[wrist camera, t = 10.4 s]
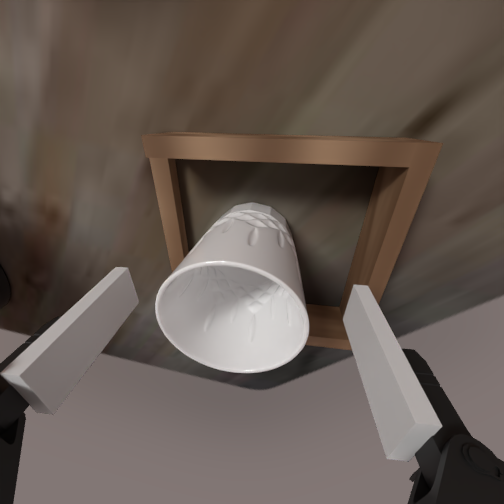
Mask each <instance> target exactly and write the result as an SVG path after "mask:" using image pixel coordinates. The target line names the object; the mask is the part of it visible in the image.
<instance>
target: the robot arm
mask: <svg viewBox="0 0 504 504" xmlns="http://www.w3.org/2000/svg"><path fill="white" fill-rule="evenodd" d="M9 299H10V286H9V283H8V280H7V278H6V276H5V274H4V272H3V270H2V269H1V267H0V308H2V307H3V306H5V305H6V304H7V303H8V301H9ZM138 303H139V300H138V297H137V294H136V291H135V288H134V285H133V282H132V279H131V275H130V272H129V269H128V268H124V267H115V268H114V269H113V270H112V271H111V272H110V273H109V274H108V275H107V276H105V277H104V278H103V279H102V280H101V281H100V282H99V283H98V284H97V285H96V286H95V287H93V288H92V289H91V290H90V291H89V292H88V293H87V294H86V295H85V296H84V297H83V298H81V299H80V300H79V301H78V302H77V303H76V304H75V305H74V306H73V307H72V308H70V309H69V310H68V311H67V312H66V313H65V314H64V315H63V316H62V317H56V318H55V319H53V320H51V321H50V322H48V323H46V324H45V325H44V326H42V327H41V328H40V329H39V330H38V331H37V332H36V333H35V334H34V336H31V337H30V338H29V339H28V340H27V341H26V342H25V344H22V345H21V346H20V347H19V348H17V349H16V350H15V351H14V352H13V353H12V354H11V355H10V356H8V357H7V358H6V359H5V360H4V361H3V362H2V363H0V504H13V501H14V494H15V488H16V481H17V474H18V467H19V461H20V454H21V447H22V440H23V433H24V427H25V420H26V417H25V413H24V411H25V409H26V408H27V407H28V406H29V405H30V406H31V407H32V408H33V409H34V410H35V411H36V412H37V413H45V414H52V415H53V414H55V412H56V411H57V410H58V408H59V407H60V406H61V404H62V403H63V402H64V400H65V399H66V398H67V396H68V395H69V394H70V392H71V391H72V390H73V388H74V387H75V386H76V385H77V383H78V382H79V381H80V379H81V378H82V377H83V375H84V374H85V373H86V371H87V370H88V369H89V367H90V366H91V365H92V363H93V362H94V361H95V360H96V358H97V357H98V356H99V354H100V353H101V352H102V350H103V349H104V348H105V346H106V345H107V344H108V342H109V341H110V340H111V338H112V337H113V336H114V335H115V333H116V332H117V331H118V329H119V328H120V327H121V325H122V324H123V323H124V321H125V320H126V319H127V317H128V316H129V315H130V313H131V312H132V311H133V309H134V308H135V307H136V306H137V304H138ZM343 322H344V326H345V329H346V332H347V335H348V338H349V341H350V345H351V348H352V351H353V354H354V357H355V360H356V363H357V367H358V370H359V373H360V376H361V379H362V382H363V386H364V389H365V392H366V395H367V399H368V402H369V405H370V408H371V411H372V414H373V418H374V421H375V424H376V426H377V430H378V433H379V436H380V440H381V443H382V446H383V449H384V452H385V455H386V459H392V460H399V461H407V462H409V461H410V460H411V459H412V458H413V457H414V456H416V459H417V461H418V463H419V466H420V468H419V469H418V470H417V471H416V472H414V474H412V476H411V477H410V480H411V481H412V482H413V481H414V485H413V488H412V491H411V495H410V498H409V501H408V504H504V462H503V461H502V460H500V459H498V458H497V457H496V456H495V455H494V454H493V452H492V451H490V449H488V448H487V447H486V446H485V445H483V444H482V443H481V442H480V441H478V440H476V439H474V438H473V437H472V436H471V435H470V433H469V432H468V430H467V429H466V427H465V426H464V424H463V422H462V420H461V419H460V417H459V416H458V414H457V412H456V410H455V409H454V407H453V406H452V404H451V402H450V401H449V399H448V397H447V396H446V394H445V392H444V391H443V389H442V388H441V387H440V384H439V382H438V381H437V379H436V377H435V376H433V373H432V371H431V369H430V367H429V366H428V364H427V362H426V361H425V360H424V359H423V358H422V357H421V356H420V355H419V354H418V353H417V352H416V351H415V350H411V349H401V347H400V345H399V343H398V341H397V339H396V338H395V336H394V334H393V332H392V330H391V328H390V326H389V324H388V322H387V321H386V319H385V317H384V315H383V313H382V311H381V309H380V307H379V306H378V304H377V302H376V300H375V298H374V296H373V294H372V292H371V290H370V289H369V287H368V286H366V285H353V288H352V291H351V295H350V298H349V301H348V304H347V307H346V311H345V314H344V317H343Z"/></svg>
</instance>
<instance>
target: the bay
mask: <svg viewBox="0 0 504 504" xmlns="http://www.w3.org/2000/svg"><path fill="white" fill-rule="evenodd" d="M141 137H142V142H143V146H144V151H145V156H146V158H150V163H151V168H152V174H153V179H154V184H155V189H156V194H157V199H158V204H159V209H160V214H161V219H162V224H163V229H164V234H165V239H166V244H167V249H168V254H169V259H170V264H171V269H172V272H173V271H174V270H175V269H176V268H177V266H178V265H179V264H180V263H181V262H182V260H183V259H184V258H185V257H186V256H187V254H188V253H189V250H188V244H187V237H186V230H185V223H184V216H183V209H182V203H181V196H180V189H179V182H178V175H177V168H176V162H175V159H198V160H225V161H252V162H279V163H305V164H332V165H359V166H379V170H378V173H377V177H376V180H375V184H374V187H373V191H372V194H371V198H370V201H369V205H368V208H367V212H366V215H365V219H364V222H363V226H362V229H361V233H360V236H359V240H358V243H357V247H356V250H355V254H354V257H353V261H352V264H351V268H350V271H349V275H348V278H347V282H346V285H345V289H344V292H343V296H342V299H341V303H340V306H339V307H333V306H323V305H313V304H306V307H307V313H308V318H309V335H308V339H307V341H306V344H305V345H311V346H320V347H328V348H337V349H345V350H352V348H351V345H350V341H349V338H348V335H347V332H346V329H345V326H344V322H343V317H344V314H345V311H346V307H347V304H348V301H349V298H350V295H351V291H352V288H353V285H366V286H368V287H369V289H370V290H371V292H372V294H373V296H374V298H375V300H376V302H377V304H378V305H379V302H380V300H381V297H382V295H383V292H384V290H385V287H386V285H387V282H388V280H389V277H390V275H391V272H392V270H393V267H394V265H395V262H396V260H397V257H398V255H399V252H400V250H401V247H402V245H403V242H404V240H405V237H406V235H407V232H408V230H409V227H410V225H411V222H412V220H413V217H414V215H415V213H416V210H417V208H418V205H419V203H420V200H421V198H422V195H423V193H424V190H425V188H426V185H427V183H428V180H429V178H430V175H431V173H432V170H433V168H434V165H435V163H436V160H437V158H438V155H439V153H440V150H441V148H442V145H443V143H438V142H431V141H424V140H418V139H411V138H392V137H352V136H312V135H271V134H231V133H190V132H167V133H158V134H148V135H141Z"/></svg>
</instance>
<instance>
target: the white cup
mask: <svg viewBox="0 0 504 504" xmlns="http://www.w3.org/2000/svg"><path fill="white" fill-rule="evenodd" d="M155 311H156V317H157V320H158V323H159V325H160V328H161V329H162V331H163V333H164V334H165V336H166V337H167V338H168V340H169V341H170V342H171V343H172V344H173V345H174V346H175V347H176V348H177V349H179V350H180V351H181V352H182V353H184V354H185V355H187V356H188V357H190V358H192V359H193V360H195V361H197V362H199V363H201V364H204V365H206V366H209V367H212V368H215V369H219V370H223V371H228V372H235V373H257V372H263V371H268V370H272V369H275V368H278V367H280V366H282V365H284V364H286V363H288V362H289V361H291V360H292V359H293V358H295V357H296V356H297V355H298V354H299V353H300V351H301V350H302V349H303V347H304V346H305V344H306V341H307V339H308V335H309V318H308V313H307V307H306V302H305V296H304V291H303V285H302V279H301V273H300V268H299V263H298V259H297V254H296V249H295V245H294V242H293V238H292V233H291V231H290V228H289V226H288V224H287V222H286V219H285V218H284V217H283V216H282V215H280V214H279V213H278V212H277V211H276V210H274V209H273V208H272V207H270V206H266V205H263V204H259V203H255V202H251V203H245V204H240V205H235V206H234V207H232V208H231V209H230V210H229V211H227V212H226V213H225V214H223V215H222V216H221V217H220V219H219V220H218V221H217V222H216V223H215V224H214V225H213V226H212V227H211V228H210V229H209V230H208V231H207V232H206V234H205V235H204V236H203V237H202V238H201V239H200V240H199V241H198V242H197V243H196V245H195V246H194V247H193V248H192V250H191V251H190V252H189V253H188V254H187V256H186V257H185V258H184V259H183V260H182V262H181V263H180V264H179V265H178V266H177V268H176V269H175V270H174V271H173V272H172V274H171V275H170V276H169V277H168V278H167V279H166V281H165V282H164V283H163V284H162V286H161V288H160V289H159V292H158V294H157V297H156V303H155Z"/></svg>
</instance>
